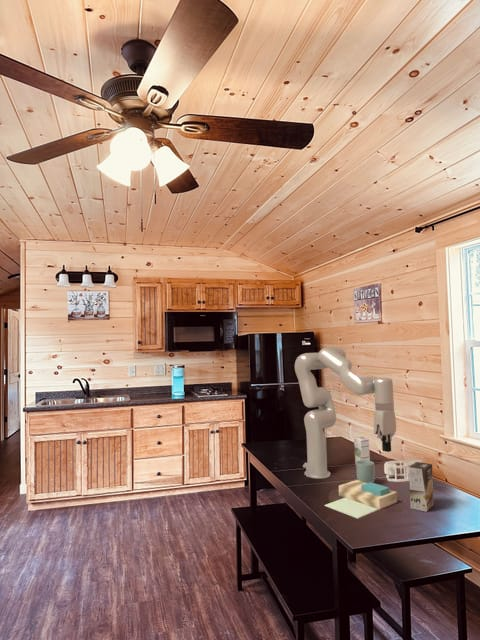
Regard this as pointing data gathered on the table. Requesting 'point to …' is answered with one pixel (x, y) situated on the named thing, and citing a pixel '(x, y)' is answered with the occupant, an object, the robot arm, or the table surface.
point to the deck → (366, 495)
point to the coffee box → (421, 486)
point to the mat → (351, 507)
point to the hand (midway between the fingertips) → (386, 451)
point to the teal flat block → (375, 489)
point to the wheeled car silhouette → (392, 469)
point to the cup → (365, 471)
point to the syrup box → (361, 449)
